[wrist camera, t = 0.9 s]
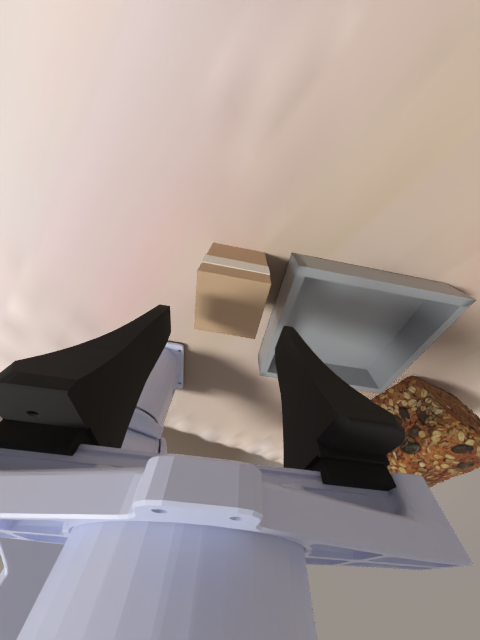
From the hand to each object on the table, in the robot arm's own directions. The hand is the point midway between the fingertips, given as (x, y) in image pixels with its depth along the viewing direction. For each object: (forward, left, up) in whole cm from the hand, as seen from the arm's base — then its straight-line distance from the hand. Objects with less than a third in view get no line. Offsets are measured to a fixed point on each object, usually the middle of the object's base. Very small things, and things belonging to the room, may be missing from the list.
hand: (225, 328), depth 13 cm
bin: (-4, -13, -9) cm, 17 cm away
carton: (0, 0, -9) cm, 9 cm away
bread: (-20, -29, -10) cm, 37 cm away
